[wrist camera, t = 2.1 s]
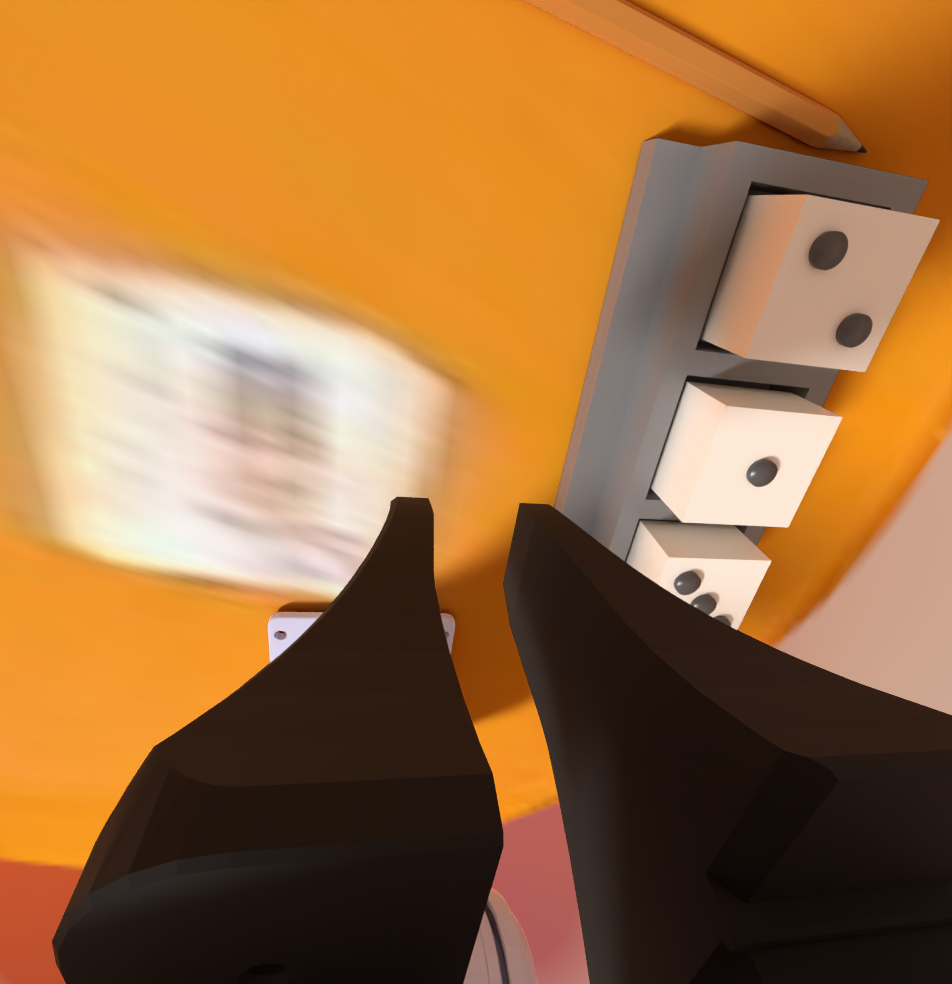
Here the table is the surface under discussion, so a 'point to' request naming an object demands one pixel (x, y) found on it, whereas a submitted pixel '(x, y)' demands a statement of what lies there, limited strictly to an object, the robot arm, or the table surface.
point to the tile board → (684, 317)
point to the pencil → (705, 69)
